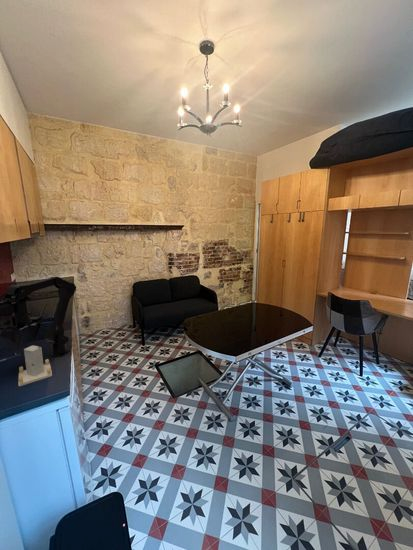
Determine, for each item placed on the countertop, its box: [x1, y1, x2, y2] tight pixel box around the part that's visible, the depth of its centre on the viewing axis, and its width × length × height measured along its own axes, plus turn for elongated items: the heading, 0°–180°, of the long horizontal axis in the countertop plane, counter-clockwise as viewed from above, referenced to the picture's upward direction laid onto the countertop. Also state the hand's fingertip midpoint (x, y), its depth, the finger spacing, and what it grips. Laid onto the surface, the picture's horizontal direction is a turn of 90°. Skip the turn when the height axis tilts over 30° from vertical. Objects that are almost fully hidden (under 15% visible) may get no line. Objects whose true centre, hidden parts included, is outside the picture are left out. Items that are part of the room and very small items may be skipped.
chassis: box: [17, 358, 53, 387], centre depth 107 cm, size 12×12×4 cm
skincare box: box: [23, 345, 44, 376], centre depth 107 cm, size 6×4×12 cm
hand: (26, 343), depth 111 cm, fingers open, 9 cm apart
